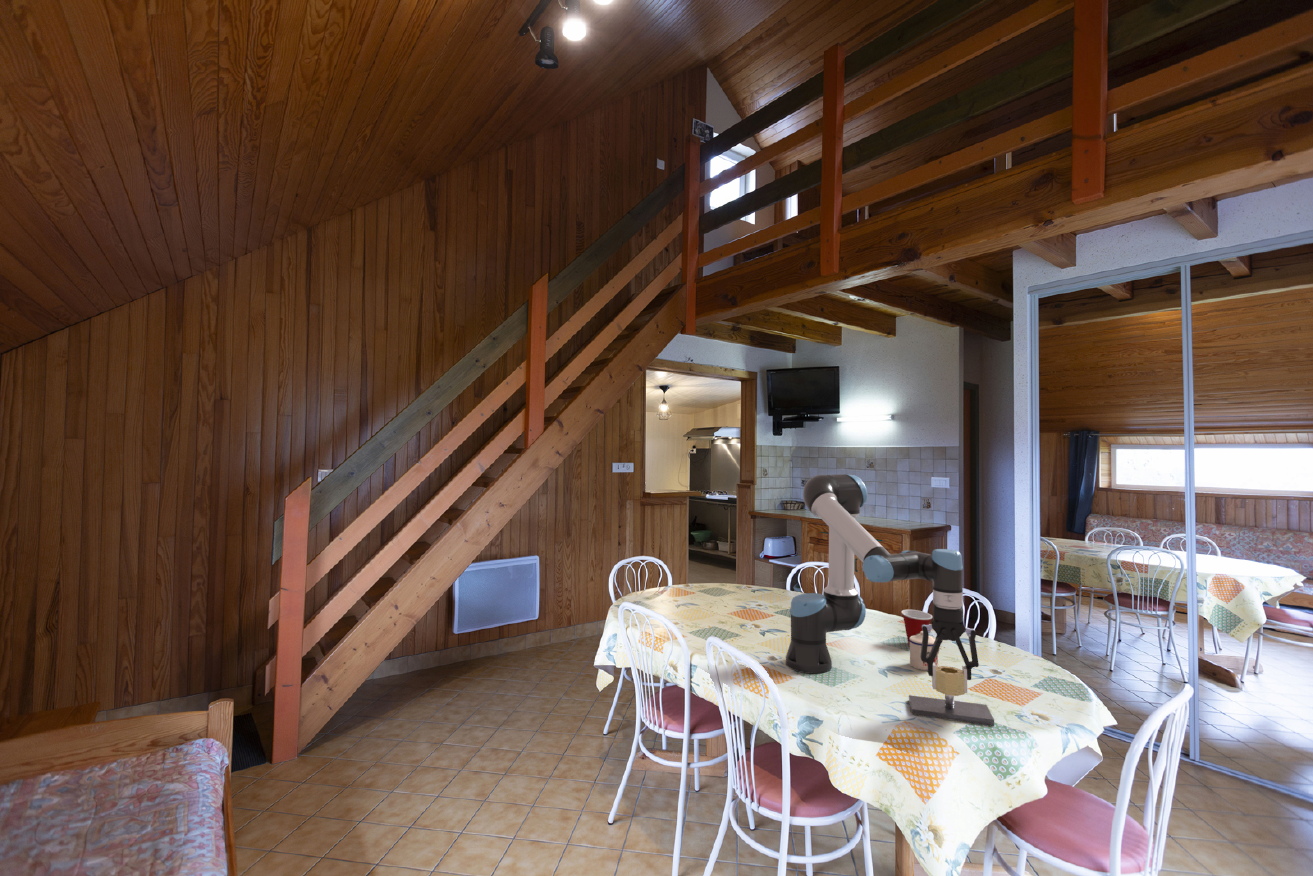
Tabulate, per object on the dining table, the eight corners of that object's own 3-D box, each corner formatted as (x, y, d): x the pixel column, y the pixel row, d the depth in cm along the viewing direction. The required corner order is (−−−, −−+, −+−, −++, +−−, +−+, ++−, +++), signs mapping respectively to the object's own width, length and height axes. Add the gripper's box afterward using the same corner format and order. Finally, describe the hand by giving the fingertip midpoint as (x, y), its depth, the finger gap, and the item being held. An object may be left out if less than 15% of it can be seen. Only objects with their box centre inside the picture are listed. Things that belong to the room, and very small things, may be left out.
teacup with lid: (926, 673, 193) (925, 637, 194) (903, 664, 201) (902, 630, 202) (950, 667, 199) (950, 632, 199) (927, 659, 207) (926, 625, 207)
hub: (937, 693, 161) (936, 673, 161) (934, 684, 168) (933, 665, 168) (965, 697, 159) (965, 676, 159) (961, 687, 165) (961, 667, 166)
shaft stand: (911, 714, 162) (911, 687, 162) (909, 700, 171) (908, 674, 172) (994, 725, 155) (993, 696, 156) (986, 710, 165) (986, 683, 165)
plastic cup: (924, 651, 214) (924, 618, 215) (896, 644, 223) (895, 612, 223) (938, 645, 221) (937, 613, 222) (910, 638, 230) (910, 607, 230)
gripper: (910, 606, 164) (911, 689, 163) (991, 612, 158) (993, 699, 157) (908, 600, 171) (909, 680, 170) (985, 605, 165) (987, 689, 164)
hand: (949, 689), depth 164 cm, fingers closed on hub, 7 cm apart
